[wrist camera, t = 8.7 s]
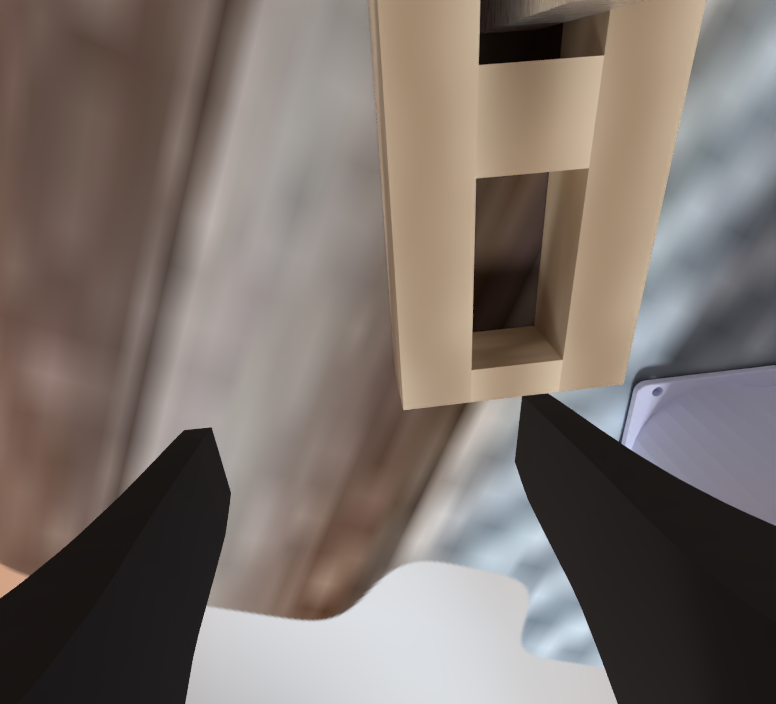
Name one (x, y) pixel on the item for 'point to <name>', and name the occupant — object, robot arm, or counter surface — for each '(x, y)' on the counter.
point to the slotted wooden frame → (524, 156)
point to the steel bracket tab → (539, 13)
